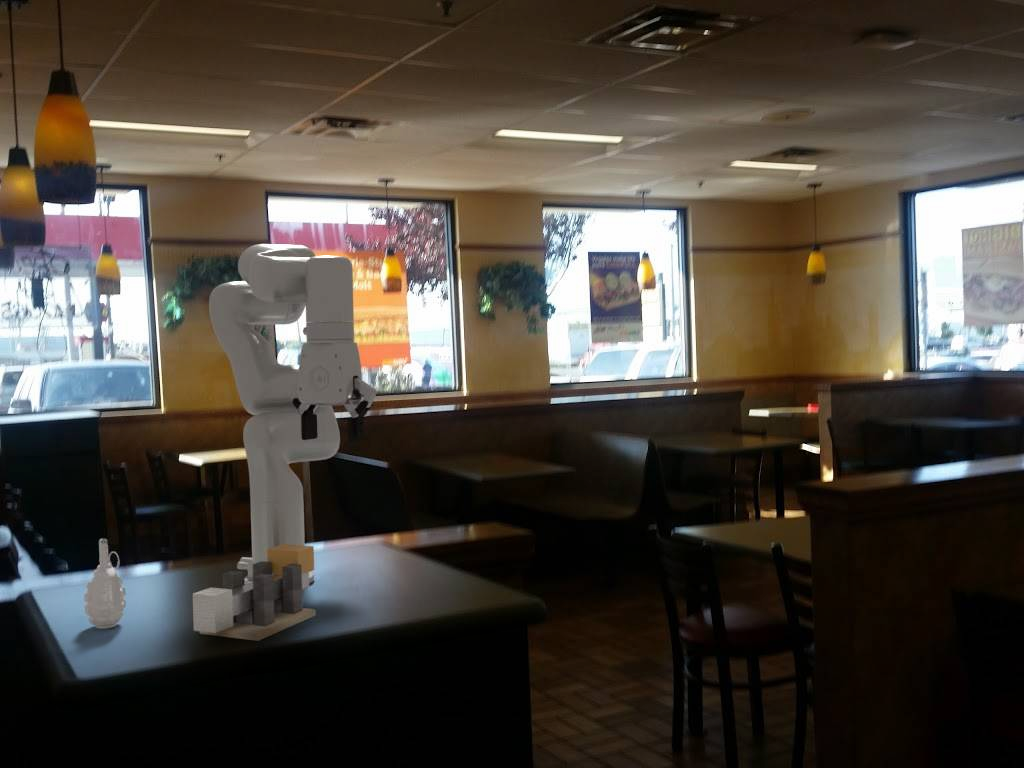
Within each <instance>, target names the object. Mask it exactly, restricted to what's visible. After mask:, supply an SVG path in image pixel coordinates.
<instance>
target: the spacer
mask: <svg viewBox="0 0 1024 768" xmlns="http://www.w3.org/2000/svg"><path fill="white" fill-rule="evenodd" d="M314 548H315V547H314V545H305V546H304V545H291V544H282V545H279V546H275V547H272V548H269V549H267V559H268V562H272V574H282V567H283V566H286V565H289V564H300V565H301V570H302V574H305V573H308V572H310V571H311V572H313V571H314V570H315V555H314V554H315V551H314Z"/></svg>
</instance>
